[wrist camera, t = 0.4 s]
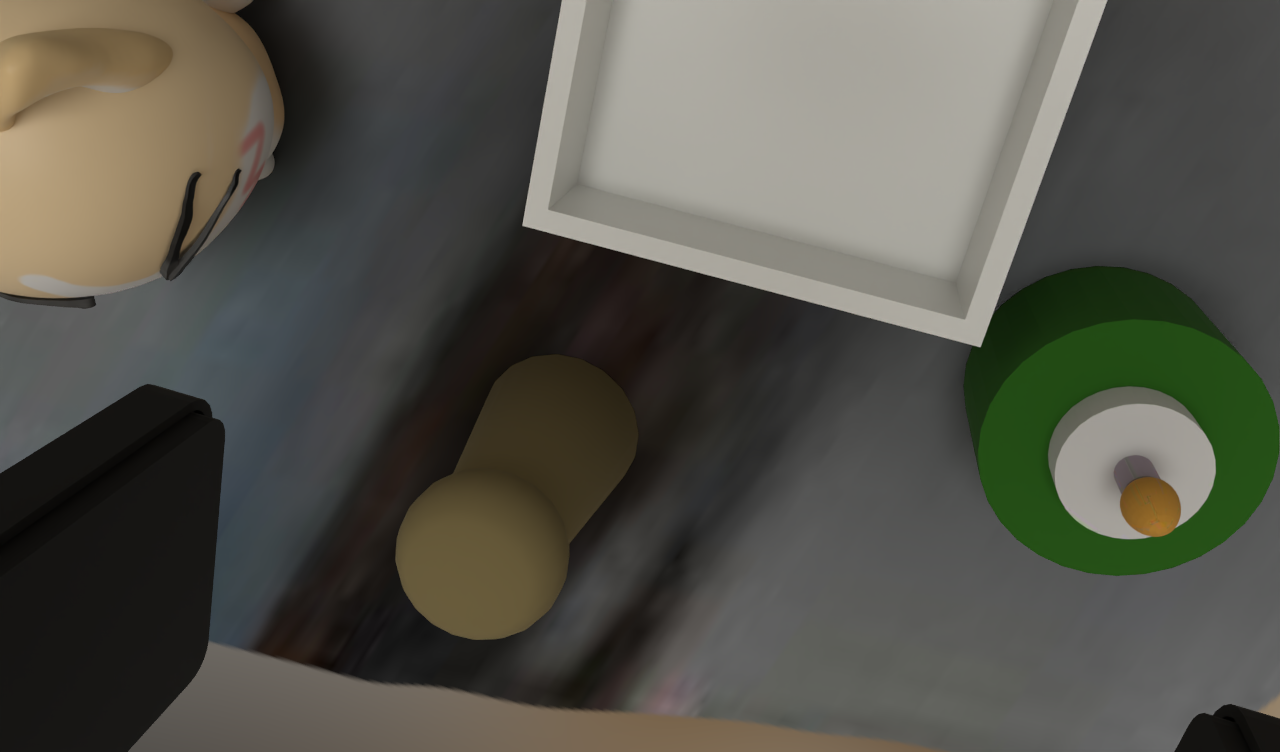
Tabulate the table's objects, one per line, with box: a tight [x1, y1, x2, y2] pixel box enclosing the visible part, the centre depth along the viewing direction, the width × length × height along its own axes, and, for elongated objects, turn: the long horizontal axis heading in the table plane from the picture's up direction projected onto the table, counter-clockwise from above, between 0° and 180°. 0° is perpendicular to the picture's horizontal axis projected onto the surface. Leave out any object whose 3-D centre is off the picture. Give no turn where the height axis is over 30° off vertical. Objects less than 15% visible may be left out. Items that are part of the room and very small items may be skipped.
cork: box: [395, 354, 639, 640], centre depth 37 cm, size 6×6×11 cm
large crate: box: [522, 0, 1107, 347], centre depth 33 cm, size 14×14×4 cm
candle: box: [964, 266, 1279, 576], centre depth 33 cm, size 8×8×10 cm
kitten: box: [0, 0, 284, 309], centre depth 33 cm, size 15×10×15 cm
